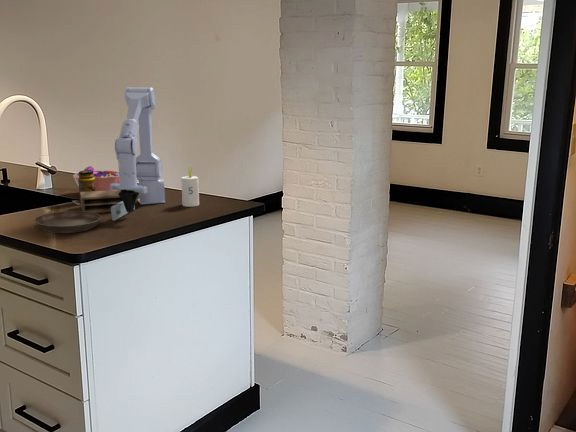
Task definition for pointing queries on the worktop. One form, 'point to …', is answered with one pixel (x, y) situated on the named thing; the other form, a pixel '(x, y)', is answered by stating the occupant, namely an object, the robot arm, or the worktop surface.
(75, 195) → the worktop surface
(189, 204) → the candle
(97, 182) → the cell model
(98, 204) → the cabinet
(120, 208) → the door
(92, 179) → the condiment
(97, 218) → the plant saucer
